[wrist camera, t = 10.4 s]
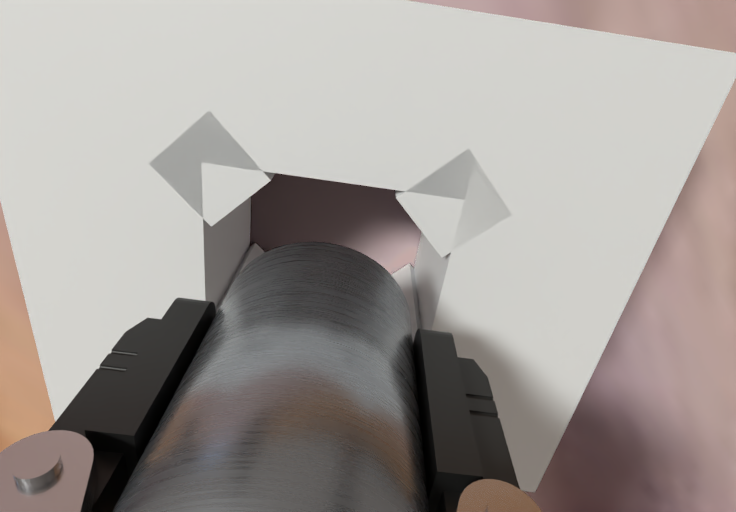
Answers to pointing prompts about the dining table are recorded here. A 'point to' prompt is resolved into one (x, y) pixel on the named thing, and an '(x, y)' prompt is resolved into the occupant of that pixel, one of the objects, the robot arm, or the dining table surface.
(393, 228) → the dining table surface
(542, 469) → the jig
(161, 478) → the dark grey cylinder
